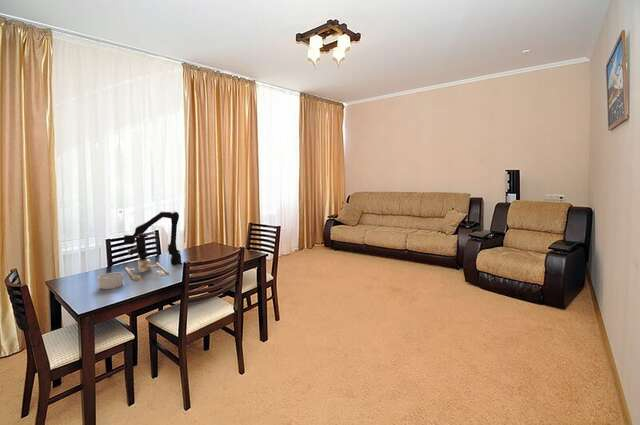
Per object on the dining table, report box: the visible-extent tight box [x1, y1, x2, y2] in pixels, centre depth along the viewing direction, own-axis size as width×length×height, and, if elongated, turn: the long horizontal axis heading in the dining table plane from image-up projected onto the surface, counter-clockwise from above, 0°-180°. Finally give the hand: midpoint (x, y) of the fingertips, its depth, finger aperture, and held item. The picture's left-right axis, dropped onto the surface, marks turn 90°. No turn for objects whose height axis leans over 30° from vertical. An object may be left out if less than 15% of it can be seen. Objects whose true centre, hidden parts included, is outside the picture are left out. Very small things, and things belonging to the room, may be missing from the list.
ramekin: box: [97, 271, 124, 290], centre depth 203 cm, size 13×13×7 cm
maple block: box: [137, 258, 152, 273], centre depth 236 cm, size 7×7×7 cm
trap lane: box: [125, 261, 170, 282], centre depth 232 cm, size 21×32×2 cm, turn 38°
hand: (142, 264), depth 242 cm, fingers closed
